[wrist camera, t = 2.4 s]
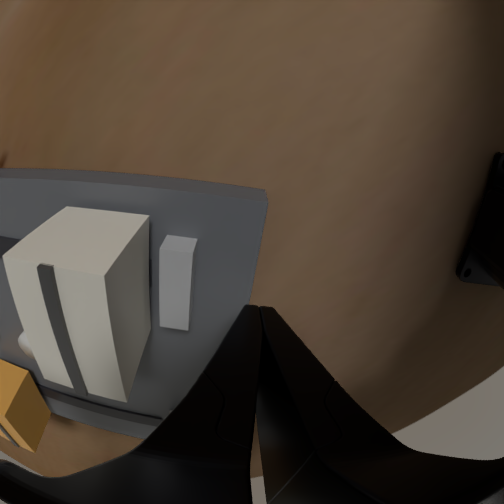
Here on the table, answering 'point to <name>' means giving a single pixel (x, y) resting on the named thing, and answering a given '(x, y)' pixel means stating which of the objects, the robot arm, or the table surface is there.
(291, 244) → the table surface
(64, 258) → the ivory fader
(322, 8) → the table surface
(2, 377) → the orange fader
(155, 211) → the console
